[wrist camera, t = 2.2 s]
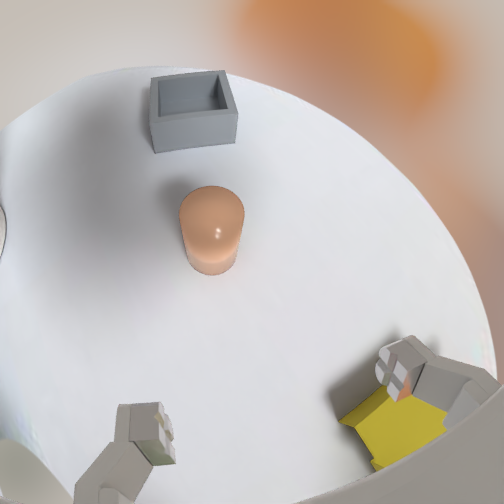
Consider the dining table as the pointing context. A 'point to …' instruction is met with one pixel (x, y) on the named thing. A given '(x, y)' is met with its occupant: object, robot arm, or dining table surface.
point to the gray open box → (191, 111)
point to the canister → (211, 228)
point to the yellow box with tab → (394, 426)
